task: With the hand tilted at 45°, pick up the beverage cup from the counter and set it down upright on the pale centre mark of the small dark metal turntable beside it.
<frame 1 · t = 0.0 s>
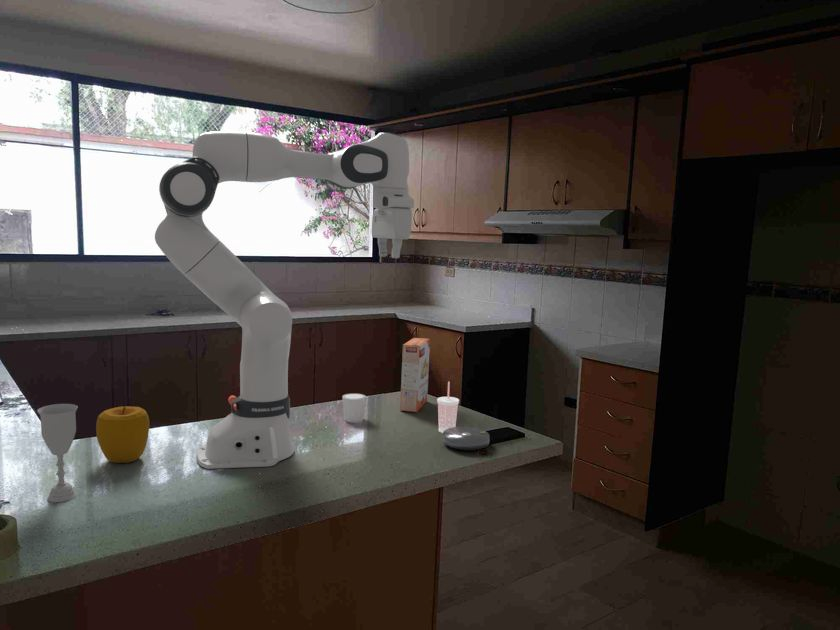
hand: (389, 257, 153), 48 cm above the worktop, tool pointing down, fingers open, 8 cm apart
white short cylinder: (353, 420, 177), on the worktop
beverage cup: (446, 431, 170), on the worktop
chalice: (62, 497, 121), on the worktop
apple: (124, 461, 141), on the worktop
cracker box: (414, 406, 193), on the worktop
turntable: (466, 439, 158), point 2 cm above the worktop, hinge at 0.0°
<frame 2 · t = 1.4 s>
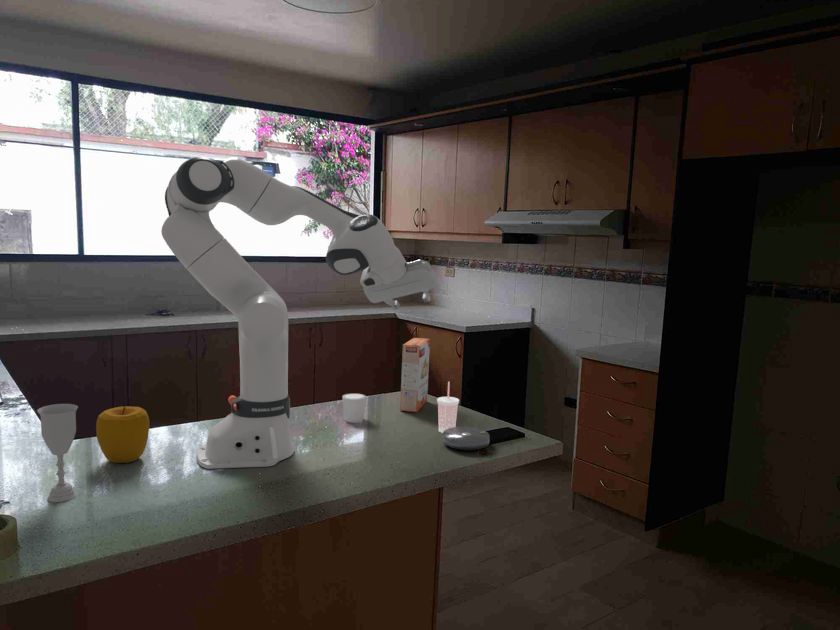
hand: (412, 303, 169), 35 cm above the worktop, tool tilted 45°, fingers open, 8 cm apart
nothing on the worktop moved.
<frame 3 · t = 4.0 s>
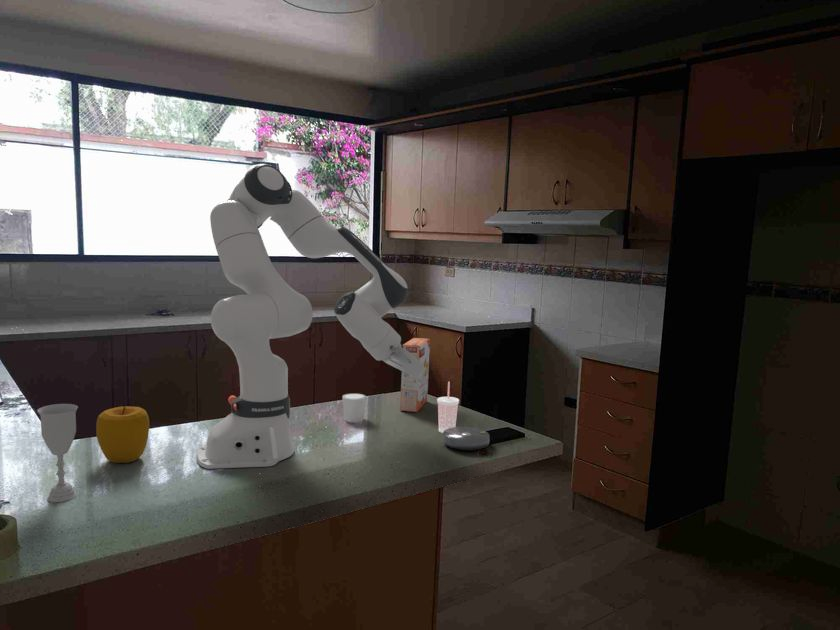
hand: (416, 377, 164), 16 cm above the worktop, tool tilted 45°, fingers open, 8 cm apart
nothing on the worktop moved.
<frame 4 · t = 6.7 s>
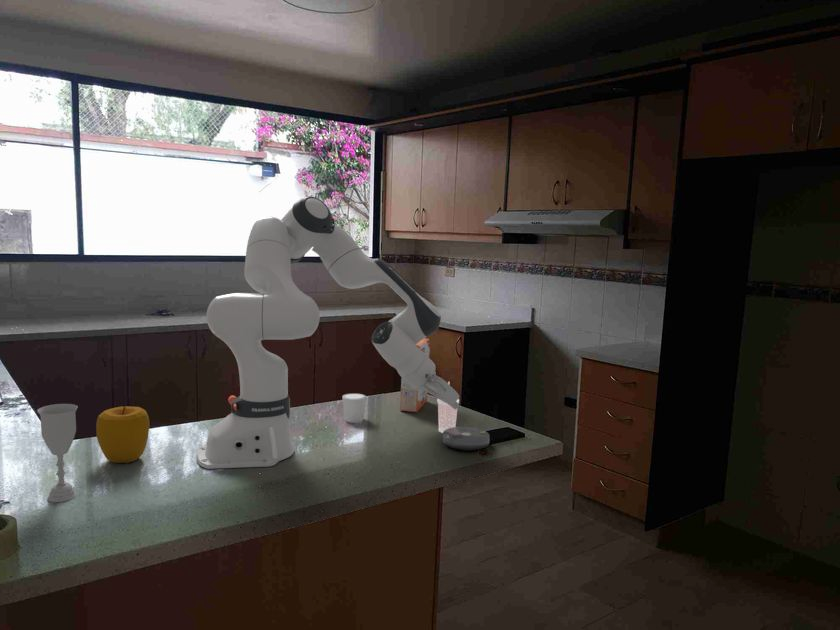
hand: (449, 403, 169), 8 cm above the worktop, tool tilted 45°, fingers closed on beverage cup, 6 cm apart
beverage cup: (446, 431, 170), on the worktop, touching gripper
everything else where it was.
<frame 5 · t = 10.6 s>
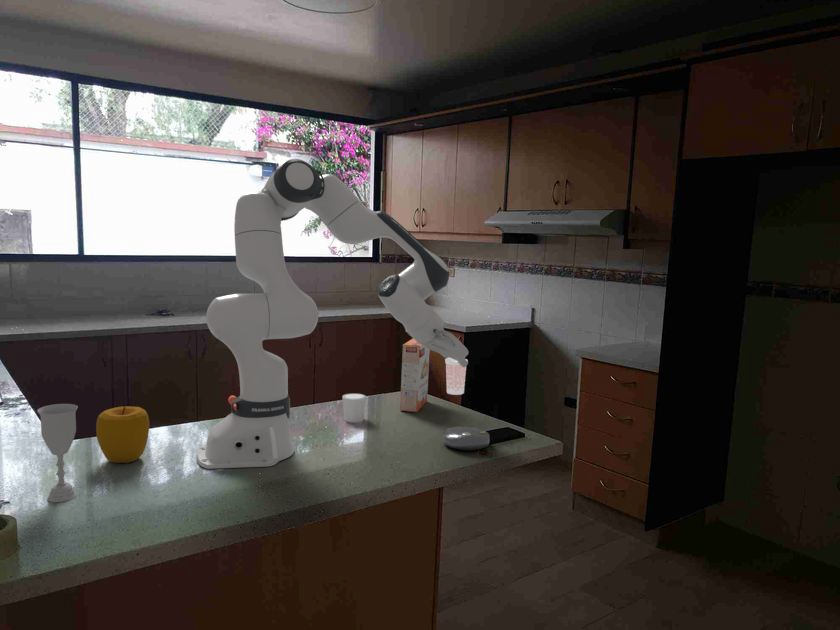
hand: (458, 362, 163), 20 cm above the worktop, tool tilted 45°, fingers closed on beverage cup, 6 cm apart
beverage cup: (455, 393, 164), point 12 cm above the worktop, touching gripper
everything else where it was.
when the fingers open (12 cm above the worktop, at t = 14.5 s): beverage cup stays where it is, resting on turntable.
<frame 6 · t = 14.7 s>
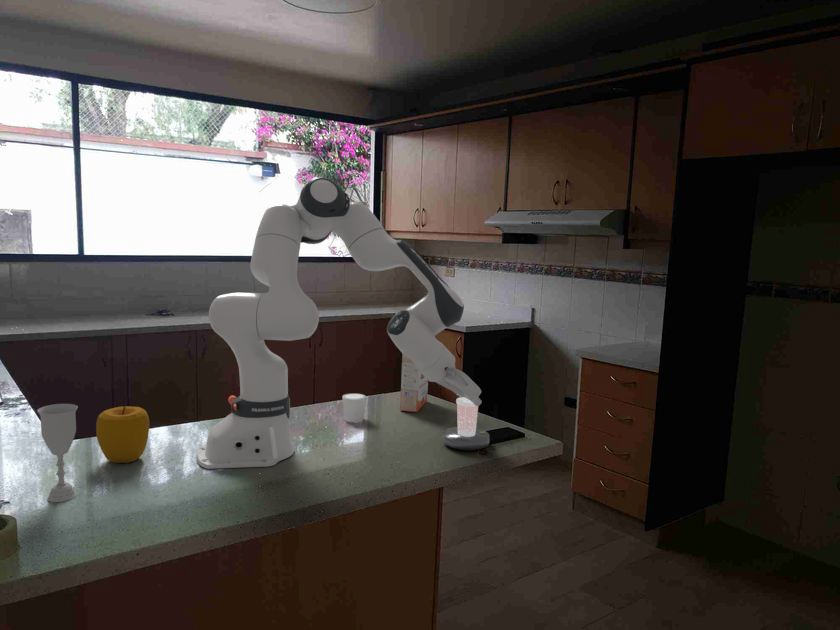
hand: (469, 399, 157), 12 cm above the worktop, tool tilted 45°, fingers open, 8 cm apart
beverage cup: (466, 434, 158), point 3 cm above the worktop, touching turntable
turntable: (466, 439, 158), point 2 cm above the worktop, hinge at 0.0°, touching beverage cup
everything else where it was.
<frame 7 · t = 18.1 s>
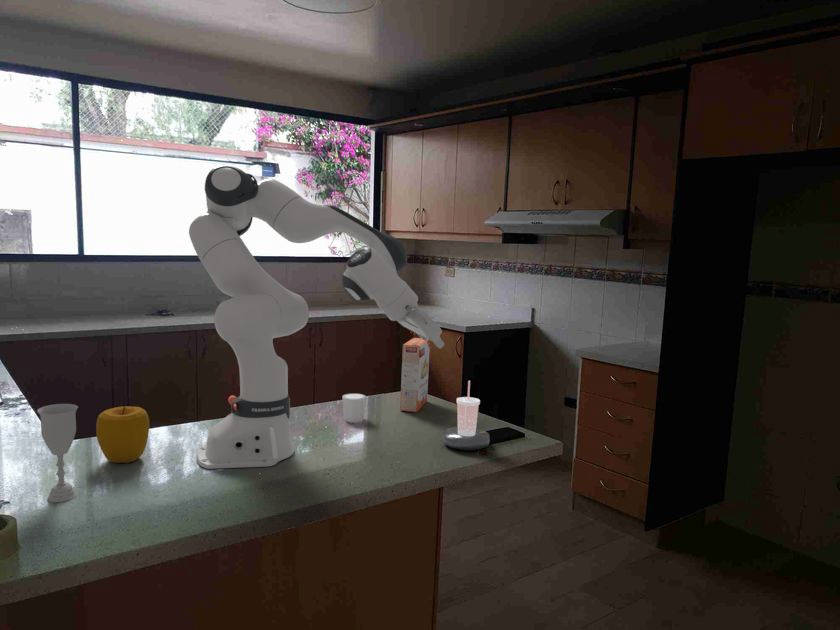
hand: (433, 342, 154), 27 cm above the worktop, tool tilted 45°, fingers open, 8 cm apart
nothing on the worktop moved.
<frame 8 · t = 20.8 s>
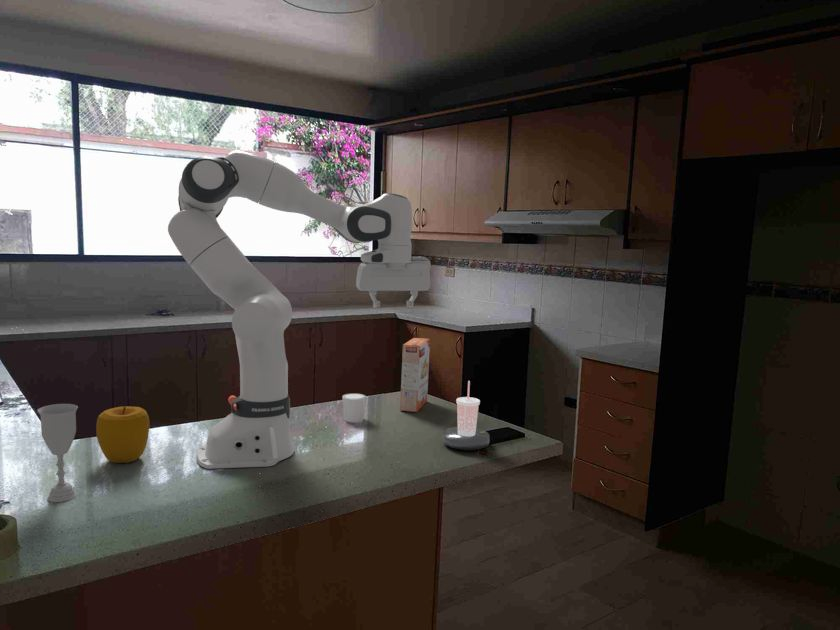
hand: (393, 307, 164), 34 cm above the worktop, tool pointing down, fingers open, 8 cm apart
nothing on the worktop moved.
at the end: beverage cup 0.1 cm from the turntable (horizontally); beverage cup tilted 1°; beverage cup point 2.9 cm above the worktop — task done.
